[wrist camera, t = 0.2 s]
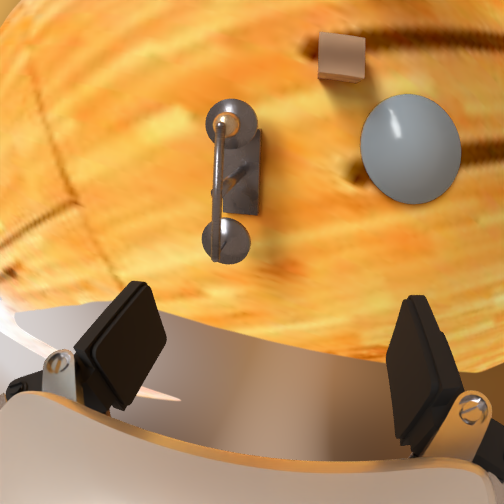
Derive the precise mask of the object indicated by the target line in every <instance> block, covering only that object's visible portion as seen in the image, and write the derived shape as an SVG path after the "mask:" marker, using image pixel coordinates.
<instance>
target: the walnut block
mask: <svg viewBox="0 0 504 504" xmlns="http://www.w3.org/2000/svg"><path fill="white" fill-rule="evenodd" d="M318 78H320V79H329V80H337V81H345V82H352V83H358V82H359V81H361V80H362V79H364V78H365V38H361V37H355V36H349V35H342V34H334V33H325V32H320V33H319V49H318Z"/></svg>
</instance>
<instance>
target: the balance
mask: <svg viewBox="0 0 504 504" xmlns="http://www.w3.org/2000/svg"><path fill="white" fill-rule="evenodd" d="M257 128H258V120H257V116H256V113H255V111H254V110H253V109H252V107H251V106H250V105H248V104H247V103H246V102H244V101H241V100H238V99H225V100H222V101H220V102H218V103H216V104H215V105H214V106H213V107H212V108H211V109H210V111H209V112H208V114H207V117H206V131H207V134H208V136H209V138H210V139H211V140H212V141H213V142H214V143H215V147H214V168H213V189H212V190H211V195H212V221H211V222H210V223H209V224H208V225H207V226H206V227H205V229H204V231H203V234H202V244H203V247H204V249H205V251H206V253H207V254H208V255H209V256H210V257H211V259H212V261H213V262H219V263H223V264H235V263H238V262H240V261H242V260H243V259H244V258H245V257H246V256H247V254H248V252H249V250H250V246H251V240H250V236H249V233H248V231H247V230H246V228H245V227H244V226H243V225H242V224H241V223H239V222H238V221H236V220H234V219H231V218H224V217H223V218H221V214H222V198H223V212H226V213H238V214H249V215H258V213H259V190H260V160H261V129H257Z"/></svg>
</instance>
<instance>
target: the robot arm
mask: <svg viewBox="0 0 504 504" xmlns="http://www.w3.org/2000/svg"><path fill="white" fill-rule="evenodd" d="M166 338H167V337H166V334H165V331H164V327H163V325H162V322H161V319H160V316H159V313H158V309H157V306H156V303H155V300H154V297H153V293H152V290H151V288H150V286H148V285H147V283H146V282H141V281H131V282H130V283H129V284H128V285H127V286H126V287H125V288H124V289H123V291H122V292H121V293H120V294H119V295H118V296H117V297H116V298H115V299H114V300H113V302H112V303H111V304H110V305H109V306H108V307H107V308H106V309H105V311H104V312H103V313H102V314H101V315H100V316H99V317H98V319H97V320H96V321H95V322H94V323H93V324H92V325H91V327H90V328H89V329H88V330H87V332H86V333H85V334H84V335H83V336H82V337H81V338H80V340H79V341H78V342H77V343H76V345H75V346H74V349H75V351H76V353H75V354H74V355H73V353H72V352H71V351H69V350H66V349H62V350H58V351H55V352H53V353H52V354H51V355H49V356H48V358H47V359H46V360H45V362H44V366H43V370H41V371H38V372H35V373H32V374H30V375H27V376H24V377H20V378H18V379H15V380H14V381H12V382H11V383H10V384H9V386H8V388H7V390H6V395H5V394H4V393H3V394H1V395H0V504H504V426H503V425H502V424H500V423H499V422H497V421H495V420H494V419H492V418H491V416H492V407H491V404H490V402H489V400H488V399H487V398H486V396H484V395H483V394H481V393H480V392H477V391H470V390H469V391H466V392H465V391H464V388H463V385H462V381H461V378H460V375H459V372H458V369H457V366H456V364H455V361H454V358H453V355H452V353H451V350H450V347H449V345H448V342H447V340H446V337H445V335H444V333H443V332H441V331H440V329H439V327H438V324H437V322H436V320H435V317H434V315H433V313H432V310H431V308H430V306H429V303H428V301H427V299H426V297H425V296H424V295H409V296H408V298H407V299H404V300H403V302H402V305H401V309H400V312H399V316H398V319H397V323H396V326H395V329H394V332H393V335H392V338H391V341H390V344H389V347H388V350H387V354H386V364H387V370H388V377H389V383H390V391H391V398H392V407H393V416H394V425H395V436H396V438H397V439H398V438H400V445H401V446H405V445H410V446H411V451H412V454H411V455H410V457H409V458H408V459H393V460H379V461H355V462H324V461H301V460H288V459H277V458H268V457H260V456H253V455H245V454H240V453H234V452H229V451H223V450H218V449H213V448H209V447H205V446H200V445H196V444H192V443H187V442H184V441H180V440H177V439H173V438H169V437H166V436H163V435H160V434H157V433H153V432H150V431H147V430H144V429H141V428H139V427H135V426H133V425H130V424H127V423H125V422H122V421H120V420H117V419H114V418H112V417H111V414H110V410H109V408H110V407H111V405H112V406H113V407H114V408H117V409H119V410H122V411H124V410H125V408H126V407H127V405H130V404H131V403H132V401H133V400H134V398H135V396H136V394H137V393H138V391H139V389H140V387H141V386H142V384H143V382H144V380H145V379H146V377H147V375H148V373H149V372H150V370H151V368H152V366H153V365H154V363H155V361H156V360H157V358H158V356H159V354H160V353H161V351H162V349H163V348H164V346H165V344H166V340H167V339H166Z"/></svg>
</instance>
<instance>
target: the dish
mask: <svg viewBox="0 0 504 504" xmlns="http://www.w3.org/2000/svg"><path fill="white" fill-rule="evenodd" d="M360 152H361V157H362V162H363V164H364V167H365V169H366V172H367V174H368V175H369V177H370V178H371V180H372V181H373V182H374V184H375V185H376V186H377V187H378V188H379V189H380V190H381V191H382V192H383V193H384V194H386V195H387V196H389V197H390V198H392V199H394V200H396V201H399V202H402V203H407V204H421V203H426V202H429V201H432V200H434V199H436V198H437V197H439V196H440V195H442V194H443V193H444V192H445V191H446V190H447V189H448V188H449V187H450V185H451V184H452V182H453V181H454V179H455V177H456V175H457V173H458V170H459V166H460V161H461V144H460V139H459V135H458V132H457V129H456V127H455V125H454V123H453V121H452V120H451V118H450V117H449V115H448V114H447V113H446V112H445V111H444V110H443V109H442V108H441V107H440V106H439V105H438V104H436V103H435V102H433V101H431V100H429V99H427V98H425V97H422V96H419V95H413V94H403V95H396V96H393V97H390V98H387V99H385V100H384V101H382V102H380V103H379V104H378V105H377V106H376V107H374V109H373V110H372V111H371V112H370V113H369V115H368V117H367V118H366V120H365V123H364V125H363V128H362V131H361V137H360Z"/></svg>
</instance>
